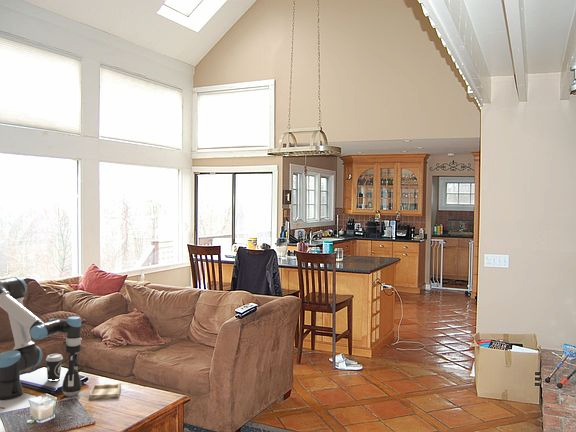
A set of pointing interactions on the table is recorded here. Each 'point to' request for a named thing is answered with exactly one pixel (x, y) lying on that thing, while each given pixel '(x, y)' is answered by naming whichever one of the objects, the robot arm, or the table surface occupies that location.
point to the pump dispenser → (72, 390)
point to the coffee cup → (54, 366)
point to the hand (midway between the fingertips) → (72, 381)
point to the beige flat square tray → (105, 391)
